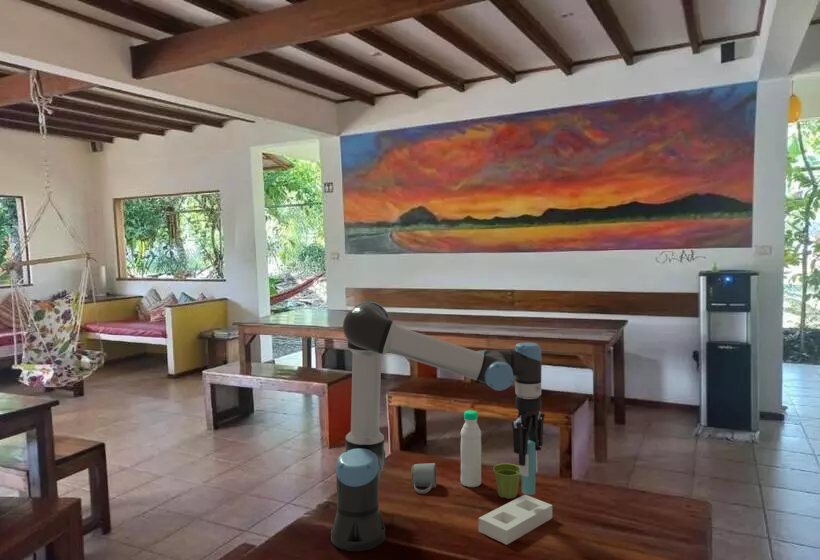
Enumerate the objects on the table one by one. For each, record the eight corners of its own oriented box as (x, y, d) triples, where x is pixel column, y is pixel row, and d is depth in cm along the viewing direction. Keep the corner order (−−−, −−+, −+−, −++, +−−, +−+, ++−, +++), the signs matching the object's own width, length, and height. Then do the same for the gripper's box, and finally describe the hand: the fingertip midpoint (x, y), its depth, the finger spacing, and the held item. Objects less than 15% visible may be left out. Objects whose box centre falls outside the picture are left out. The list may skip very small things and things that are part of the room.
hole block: (478, 531, 164) (478, 517, 164) (524, 506, 179) (524, 494, 179) (506, 544, 157) (506, 530, 157) (552, 518, 172) (552, 505, 172)
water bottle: (484, 482, 198) (484, 410, 196) (475, 489, 192) (475, 416, 190) (466, 477, 202) (466, 407, 200) (456, 485, 196) (456, 412, 194)
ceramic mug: (413, 480, 200) (413, 459, 199) (436, 481, 199) (436, 459, 198) (409, 494, 189) (409, 471, 189) (434, 495, 188) (434, 472, 188)
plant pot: (527, 498, 185) (528, 472, 185) (502, 503, 182) (502, 476, 181) (512, 486, 194) (512, 461, 193) (487, 491, 190) (487, 466, 190)
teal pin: (518, 491, 171) (518, 442, 170) (527, 487, 174) (526, 439, 173) (530, 495, 168) (529, 445, 167) (538, 491, 171) (538, 442, 170)
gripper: (521, 403, 161) (521, 485, 162) (555, 392, 172) (555, 468, 174) (500, 398, 166) (500, 477, 168) (534, 388, 178) (534, 462, 179)
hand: (528, 473), depth 171 cm, fingers closed on teal pin, 4 cm apart
